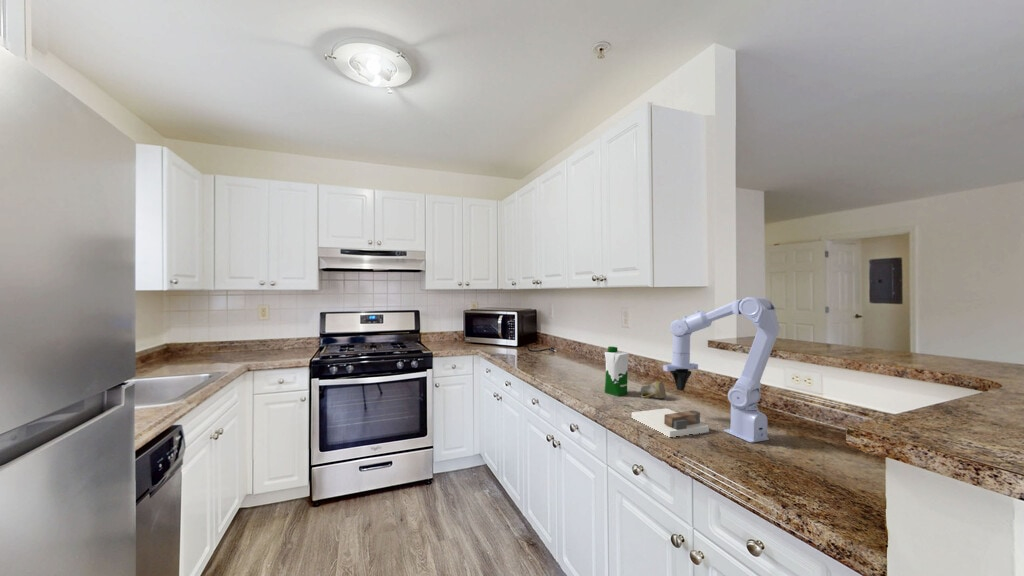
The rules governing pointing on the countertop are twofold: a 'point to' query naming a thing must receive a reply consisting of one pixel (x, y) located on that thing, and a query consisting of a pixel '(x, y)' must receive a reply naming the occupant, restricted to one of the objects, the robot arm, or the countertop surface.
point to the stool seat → (657, 422)
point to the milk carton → (616, 372)
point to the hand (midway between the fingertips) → (680, 389)
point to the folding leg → (682, 417)
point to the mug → (653, 390)
